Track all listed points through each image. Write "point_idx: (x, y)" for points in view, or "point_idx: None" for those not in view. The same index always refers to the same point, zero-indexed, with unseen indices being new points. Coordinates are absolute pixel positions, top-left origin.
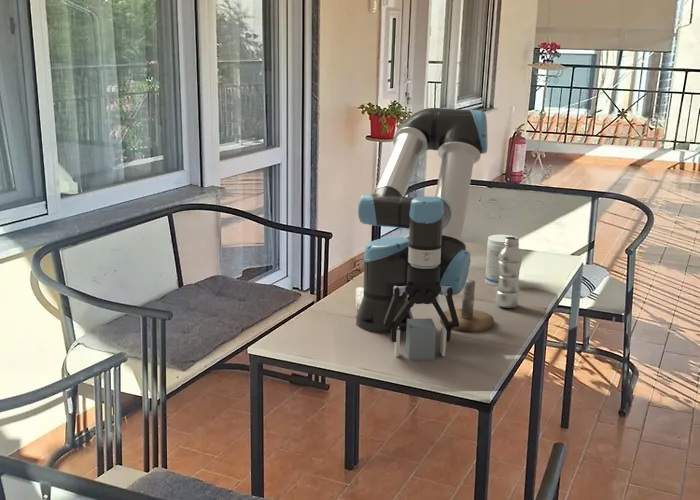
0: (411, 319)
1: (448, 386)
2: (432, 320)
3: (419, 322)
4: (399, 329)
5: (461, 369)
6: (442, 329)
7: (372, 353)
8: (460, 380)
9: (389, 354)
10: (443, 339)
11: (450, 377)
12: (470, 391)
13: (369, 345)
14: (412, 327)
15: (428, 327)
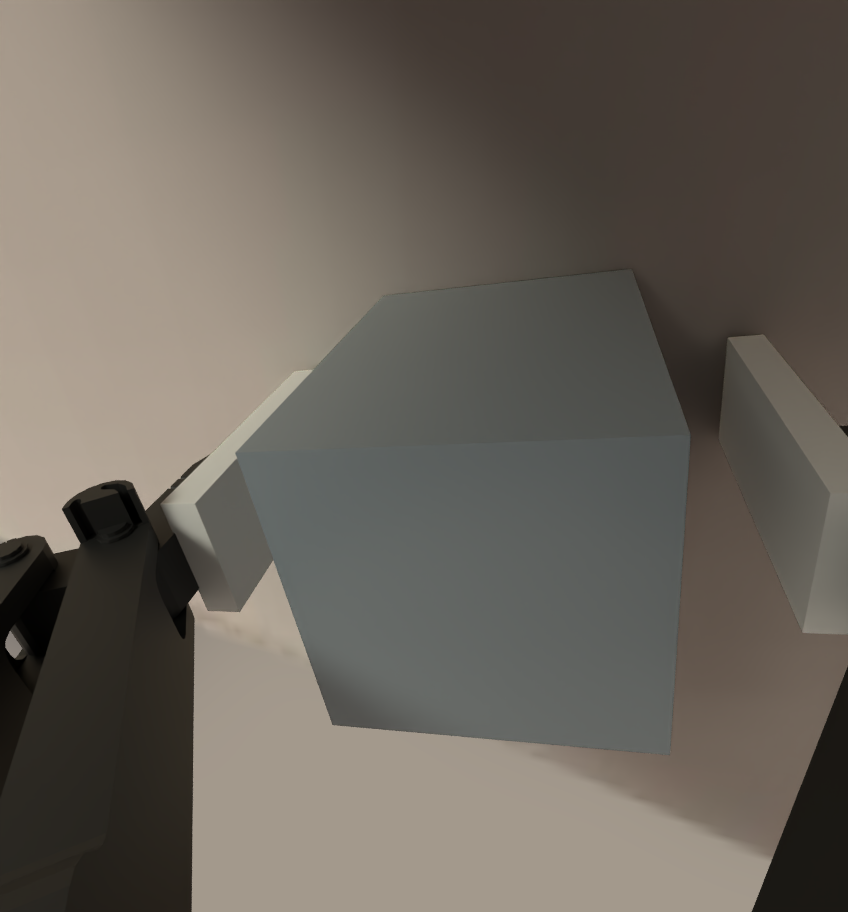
0: (310, 481)
1: (640, 800)
2: (682, 516)
3: (441, 594)
4: (225, 584)
5: (811, 643)
6: (809, 557)
7: (141, 385)
8: (738, 761)
9: (265, 397)
10: (769, 545)
11: (683, 727)
12: (752, 851)
13: (59, 208)
14: (355, 726)
15: (559, 742)
